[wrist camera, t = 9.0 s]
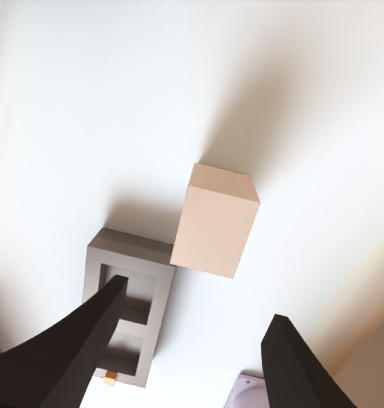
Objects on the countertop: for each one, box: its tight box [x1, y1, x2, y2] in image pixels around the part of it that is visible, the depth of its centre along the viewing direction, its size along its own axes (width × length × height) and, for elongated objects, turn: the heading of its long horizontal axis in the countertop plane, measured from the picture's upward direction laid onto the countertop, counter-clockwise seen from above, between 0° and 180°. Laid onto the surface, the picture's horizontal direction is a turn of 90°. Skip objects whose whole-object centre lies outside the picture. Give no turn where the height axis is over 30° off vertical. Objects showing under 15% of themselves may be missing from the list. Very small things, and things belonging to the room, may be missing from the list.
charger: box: [170, 163, 260, 279], centre depth 19 cm, size 4×5×7 cm
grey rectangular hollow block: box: [82, 228, 176, 388], centre depth 25 cm, size 7×15×4 cm, turn 167°
